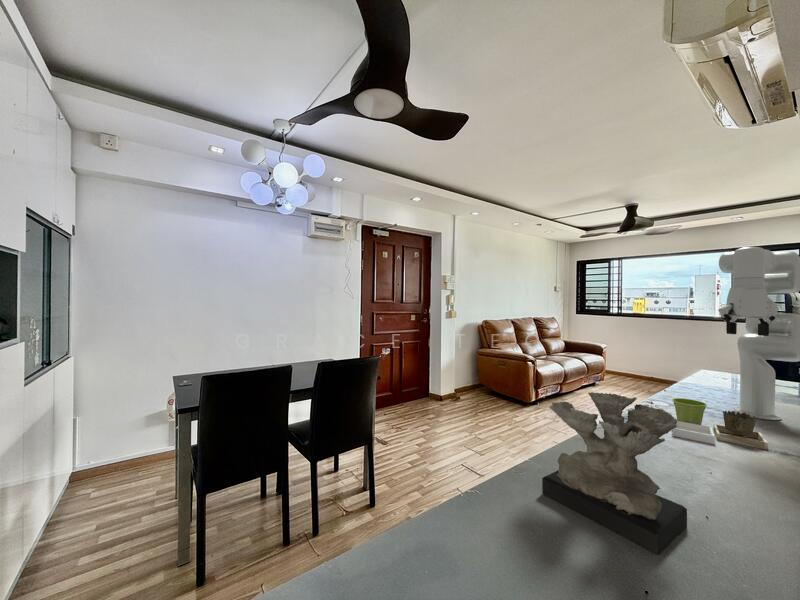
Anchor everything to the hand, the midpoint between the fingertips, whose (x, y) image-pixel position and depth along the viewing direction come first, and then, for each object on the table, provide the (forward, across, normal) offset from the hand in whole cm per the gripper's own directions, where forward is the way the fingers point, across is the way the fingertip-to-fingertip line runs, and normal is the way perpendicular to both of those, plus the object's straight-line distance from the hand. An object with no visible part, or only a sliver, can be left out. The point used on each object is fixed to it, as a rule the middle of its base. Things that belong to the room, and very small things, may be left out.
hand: (747, 334), depth 115 cm
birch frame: (+33, +8, +7) cm, 35 cm away
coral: (+36, +66, +49) cm, 90 cm away
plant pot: (+33, +16, -2) cm, 37 cm away
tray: (+33, +20, +6) cm, 40 cm away
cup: (+33, +8, +7) cm, 35 cm away
